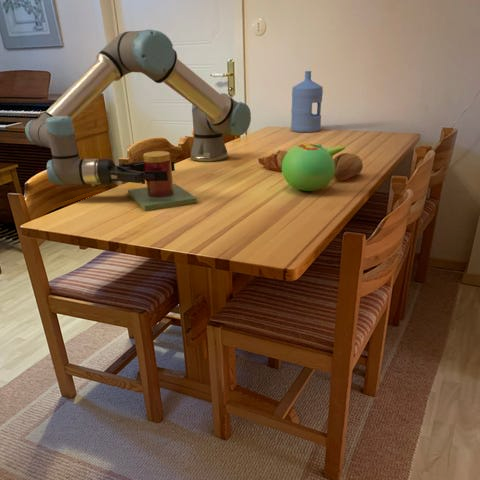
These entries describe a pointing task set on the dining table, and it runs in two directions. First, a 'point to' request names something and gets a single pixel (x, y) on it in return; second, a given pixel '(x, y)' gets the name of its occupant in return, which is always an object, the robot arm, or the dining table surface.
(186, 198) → the corner board
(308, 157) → the toy bird
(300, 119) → the water jug
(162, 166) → the jam jar
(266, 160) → the croissant
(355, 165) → the bread roll
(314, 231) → the dining table surface
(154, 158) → the jam lid
